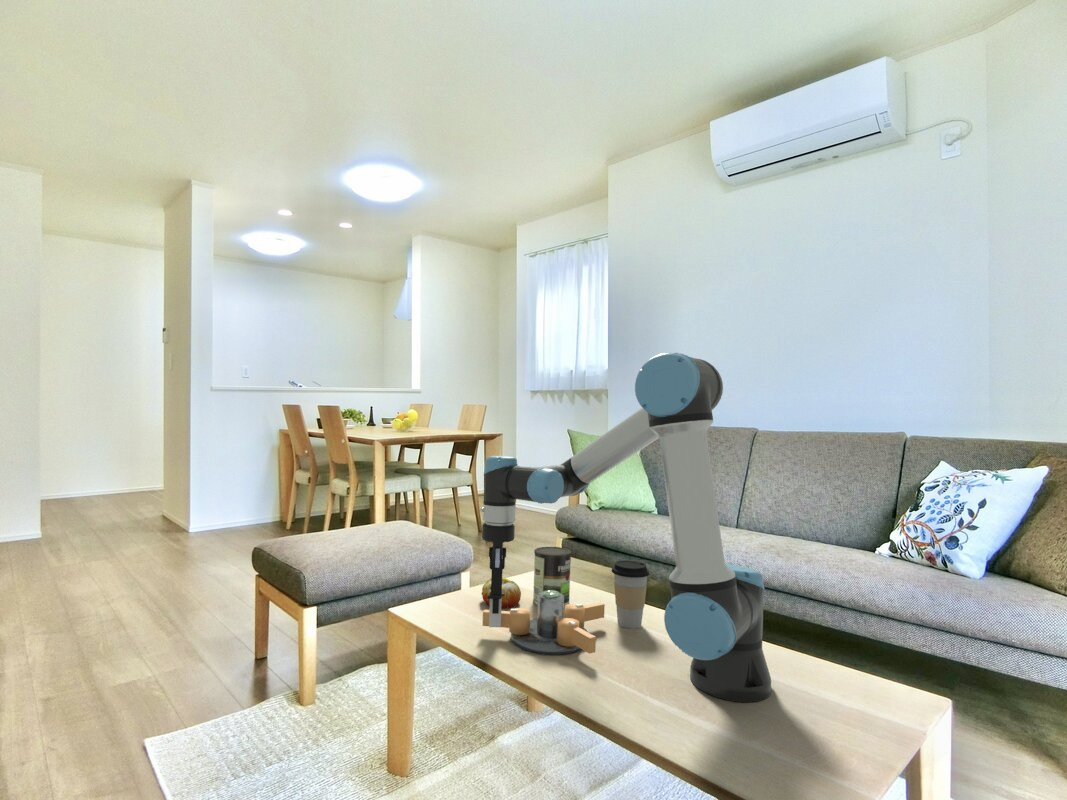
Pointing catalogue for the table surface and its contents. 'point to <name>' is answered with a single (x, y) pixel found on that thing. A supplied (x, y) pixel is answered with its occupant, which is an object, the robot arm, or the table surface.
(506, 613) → the knob
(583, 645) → the knob
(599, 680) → the table surface
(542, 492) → the robot arm
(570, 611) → the knob
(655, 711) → the table surface
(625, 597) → the coffee cup
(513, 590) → the fruit
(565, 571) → the coffee can
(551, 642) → the base
